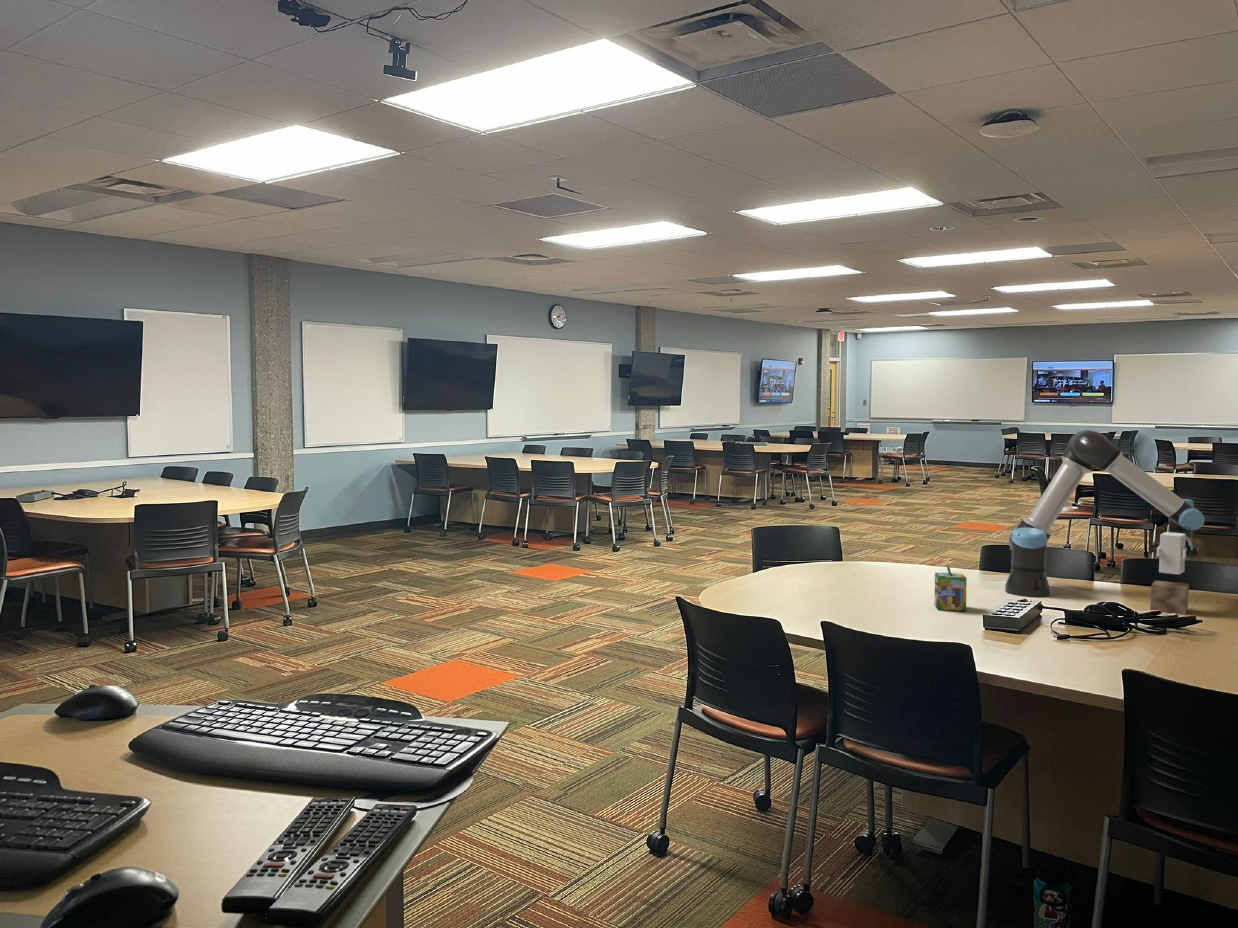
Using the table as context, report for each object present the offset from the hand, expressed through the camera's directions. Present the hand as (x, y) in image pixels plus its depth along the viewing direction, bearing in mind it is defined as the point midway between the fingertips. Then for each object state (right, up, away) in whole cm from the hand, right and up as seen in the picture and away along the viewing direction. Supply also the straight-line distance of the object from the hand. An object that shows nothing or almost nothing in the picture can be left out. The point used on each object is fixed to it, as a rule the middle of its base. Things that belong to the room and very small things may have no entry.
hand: (1170, 553), depth 302 cm
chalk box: (-72, -19, +5) cm, 74 cm away
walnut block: (+3, -20, +5) cm, 21 cm away
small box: (+3, -7, +4) cm, 9 cm away
